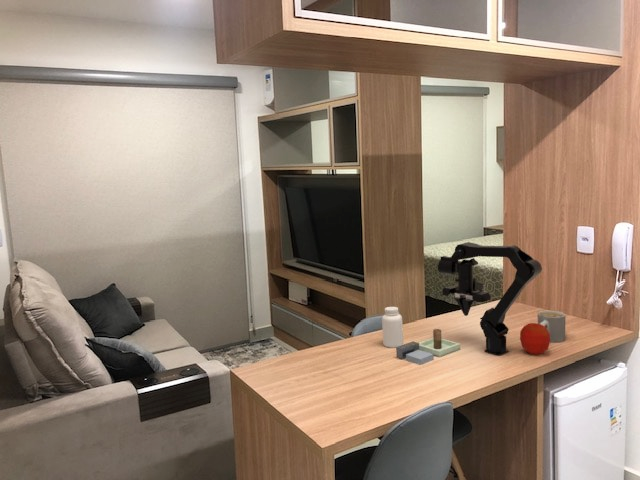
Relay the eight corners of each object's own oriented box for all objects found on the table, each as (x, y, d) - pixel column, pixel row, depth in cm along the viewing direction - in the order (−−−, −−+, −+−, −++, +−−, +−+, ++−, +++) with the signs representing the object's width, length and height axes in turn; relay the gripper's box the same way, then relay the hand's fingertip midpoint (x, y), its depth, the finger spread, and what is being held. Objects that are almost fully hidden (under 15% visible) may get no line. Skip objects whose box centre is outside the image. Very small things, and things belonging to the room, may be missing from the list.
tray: (460, 349, 202) (460, 343, 201) (439, 357, 195) (439, 351, 194) (436, 342, 211) (435, 336, 211) (415, 349, 204) (415, 344, 204)
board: (433, 360, 193) (433, 354, 193) (420, 366, 189) (420, 359, 188) (418, 356, 198) (418, 349, 198) (406, 361, 194) (405, 354, 194)
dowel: (443, 347, 203) (442, 330, 202) (438, 349, 201) (437, 331, 200) (437, 346, 205) (436, 328, 204) (432, 347, 203) (431, 330, 202)
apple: (554, 351, 194) (554, 321, 192) (542, 359, 187) (542, 327, 186) (527, 345, 201) (527, 316, 200) (515, 353, 195) (514, 322, 193)
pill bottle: (380, 346, 209) (378, 310, 207) (387, 340, 216) (385, 304, 214) (399, 349, 206) (397, 311, 204) (405, 342, 213) (404, 306, 211)
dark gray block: (419, 353, 200) (419, 343, 199) (402, 359, 195) (402, 349, 194) (413, 351, 202) (413, 341, 202) (396, 357, 197) (396, 347, 196)
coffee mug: (548, 333, 214) (548, 309, 213) (570, 339, 206) (571, 314, 204) (526, 339, 208) (526, 315, 207) (547, 346, 199) (548, 320, 198)
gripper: (499, 275, 199) (499, 315, 201) (459, 269, 214) (460, 307, 216) (480, 280, 192) (481, 322, 195) (440, 274, 207) (441, 312, 209)
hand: (466, 315), depth 204 cm, fingers closed
